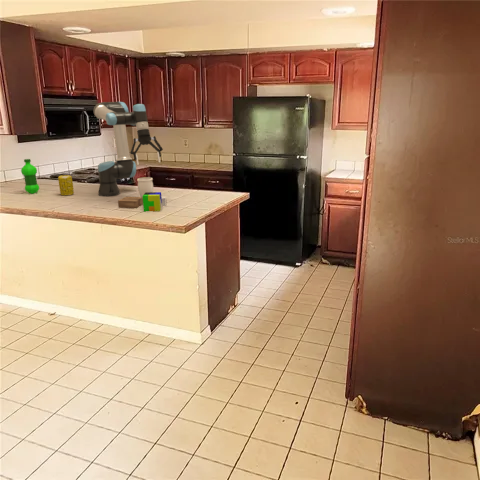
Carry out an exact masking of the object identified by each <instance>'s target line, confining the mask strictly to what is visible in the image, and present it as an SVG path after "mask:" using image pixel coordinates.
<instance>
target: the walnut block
mask: <svg viewBox="0 0 480 480" xmlns="http://www.w3.org/2000/svg"><path fill="white" fill-rule="evenodd" d="M117 203H118V205H117V206H118V208H119V209H134V208H136V209H137V208H140V207H141V206H143V197H140V196H125V197H122V198H121V199H117ZM139 206H140V207H139Z"/></svg>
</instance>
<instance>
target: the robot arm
mask: <svg viewBox="0 0 480 480" xmlns="http://www.w3.org/2000/svg"><path fill="white" fill-rule="evenodd" d="M93 114H94V117H96V118H97V119H98V120H104V121H105V122H106V125H108V126H113V132H114V133H113V135H114V139H115V140H114V141H115V147H116V155H117V159H116V160H115V161H113V160H112V161H111V160H109V161H103V162H101V163H99V164H98V165H97V172H98V178H99V179H98V180H99V188H98V196H100V197H114V196H118V195H120V194H121V191H120V188H119V186H118V183H117V180H118V179H119V180H121V179H129V178H134V177H135V176H136V173H137V166H139V164H140V162H139V157H138V154H137V152H138V151H139V149H140V148H141V146H148V145H149V146H151V147H152V148H153V149H154V150H155V151H156V155H157V161H158V163H161V157H162V154H161V152H162V151H163V150H164V148H163V147H162V146H161V144H160V143H159V141H158V140H157V138H156V135H155V136H151V133H150V132H151V131H150V127H149V123H148V122H149V121H148V115H147V109H146V106H145V104H143V103H137V104H134V105H133V106H132V111H129V108H128V106H127V104H126V103H125V102H124V101H103V102H99V103H97V104H95V106H94V107H93ZM126 125H130V126H136V127H135V128H136V132H137V138H134V137H133V143H132V146H131V150H130V148H129V141H128V134H127V128H126V127H127V126H126ZM152 141H153V142H154V143H153V142H152ZM138 142H139V144H138V146H137V147H136V143H138ZM135 147H136V148H135ZM134 149H135V150H134ZM130 155H133V158H134V160H135V161H136V162H135V161H133V158H132V157H131V156H130Z"/></svg>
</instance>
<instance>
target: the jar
mask: <svg viewBox="0 0 480 480" xmlns="http://www.w3.org/2000/svg"><path fill="white" fill-rule="evenodd" d="M153 180H154V179H153V177H149V176H147V177H139V178H137V180H136V181H137V191H138V195H139V197H143V195H144V194H145V192H154V182H153Z"/></svg>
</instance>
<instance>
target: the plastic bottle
mask: <svg viewBox="0 0 480 480" xmlns="http://www.w3.org/2000/svg"><path fill="white" fill-rule="evenodd" d="M23 162H24V163H25V164H24V166H22V167H21V169H20V172H21V174H22V175H23V178H24V183H25V186H24V190H25V191H26V192H27V193H28V194H32V195H33V194H37V193H38V192H39V190H40V186H39V184H38V182H37V176H36V175H37V173H38V169H37V167H36V166H34V165H33V164H32V163H31V162H32V161H31V158H25V159H23Z"/></svg>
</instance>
